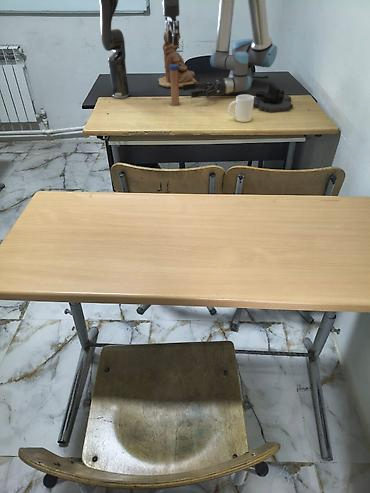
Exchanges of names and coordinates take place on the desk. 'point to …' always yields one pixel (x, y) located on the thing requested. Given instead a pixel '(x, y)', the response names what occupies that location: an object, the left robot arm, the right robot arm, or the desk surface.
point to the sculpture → (175, 58)
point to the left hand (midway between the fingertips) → (172, 43)
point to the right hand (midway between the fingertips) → (186, 91)
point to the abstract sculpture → (272, 100)
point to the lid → (173, 67)
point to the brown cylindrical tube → (174, 87)
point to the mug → (242, 108)
